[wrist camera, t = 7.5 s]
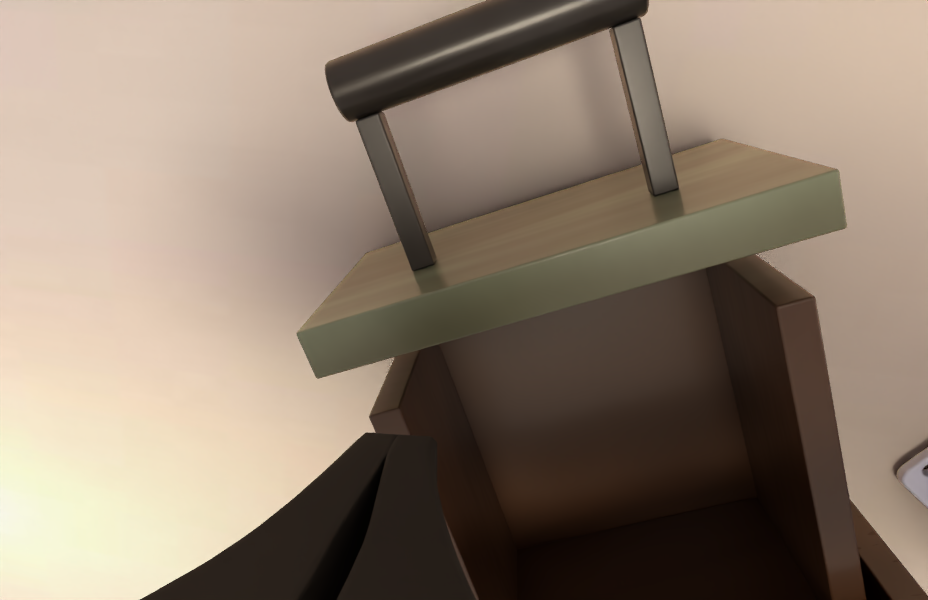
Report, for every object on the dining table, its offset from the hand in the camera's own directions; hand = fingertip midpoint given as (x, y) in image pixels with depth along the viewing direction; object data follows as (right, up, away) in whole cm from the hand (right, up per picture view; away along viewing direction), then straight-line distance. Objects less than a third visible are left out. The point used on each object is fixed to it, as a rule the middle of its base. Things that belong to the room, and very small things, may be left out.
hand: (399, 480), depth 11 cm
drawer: (+4, +3, +9) cm, 10 cm away
